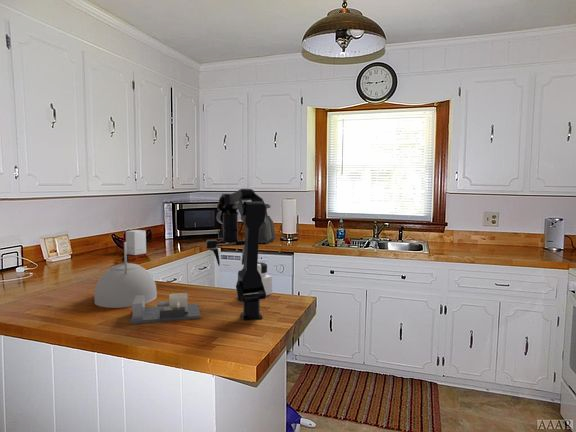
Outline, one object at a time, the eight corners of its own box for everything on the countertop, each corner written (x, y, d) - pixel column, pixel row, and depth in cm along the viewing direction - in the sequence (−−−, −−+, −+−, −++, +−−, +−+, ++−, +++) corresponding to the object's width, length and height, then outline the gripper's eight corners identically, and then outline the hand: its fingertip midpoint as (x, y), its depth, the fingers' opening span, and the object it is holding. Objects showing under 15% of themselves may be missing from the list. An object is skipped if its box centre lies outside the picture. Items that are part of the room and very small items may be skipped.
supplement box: (146, 253, 251) (146, 230, 250) (134, 255, 243) (134, 231, 242) (137, 252, 256) (137, 229, 254) (125, 254, 248) (125, 230, 247)
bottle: (266, 244, 291) (267, 205, 289) (247, 243, 297) (247, 204, 295) (276, 241, 308) (276, 203, 306) (257, 240, 314) (257, 203, 311)
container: (258, 290, 165) (258, 260, 164) (272, 294, 160) (272, 263, 159) (245, 294, 159) (245, 263, 158) (259, 298, 154) (259, 266, 153)
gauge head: (188, 315, 130) (187, 300, 129) (156, 317, 127) (156, 302, 127) (187, 306, 139) (187, 292, 138) (158, 308, 136) (157, 294, 136)
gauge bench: (200, 318, 130) (200, 300, 130) (130, 324, 124) (129, 306, 124) (198, 305, 144) (198, 290, 143) (135, 310, 138) (134, 294, 137)
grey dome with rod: (96, 292, 160) (94, 238, 159) (154, 287, 169) (153, 236, 167) (92, 311, 137) (90, 248, 136) (159, 303, 146) (158, 244, 145)
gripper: (250, 223, 162) (251, 260, 163) (205, 224, 157) (205, 262, 158) (255, 225, 151) (255, 265, 152) (206, 226, 146) (207, 267, 147)
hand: (230, 265), depth 152 cm, fingers open, 9 cm apart
